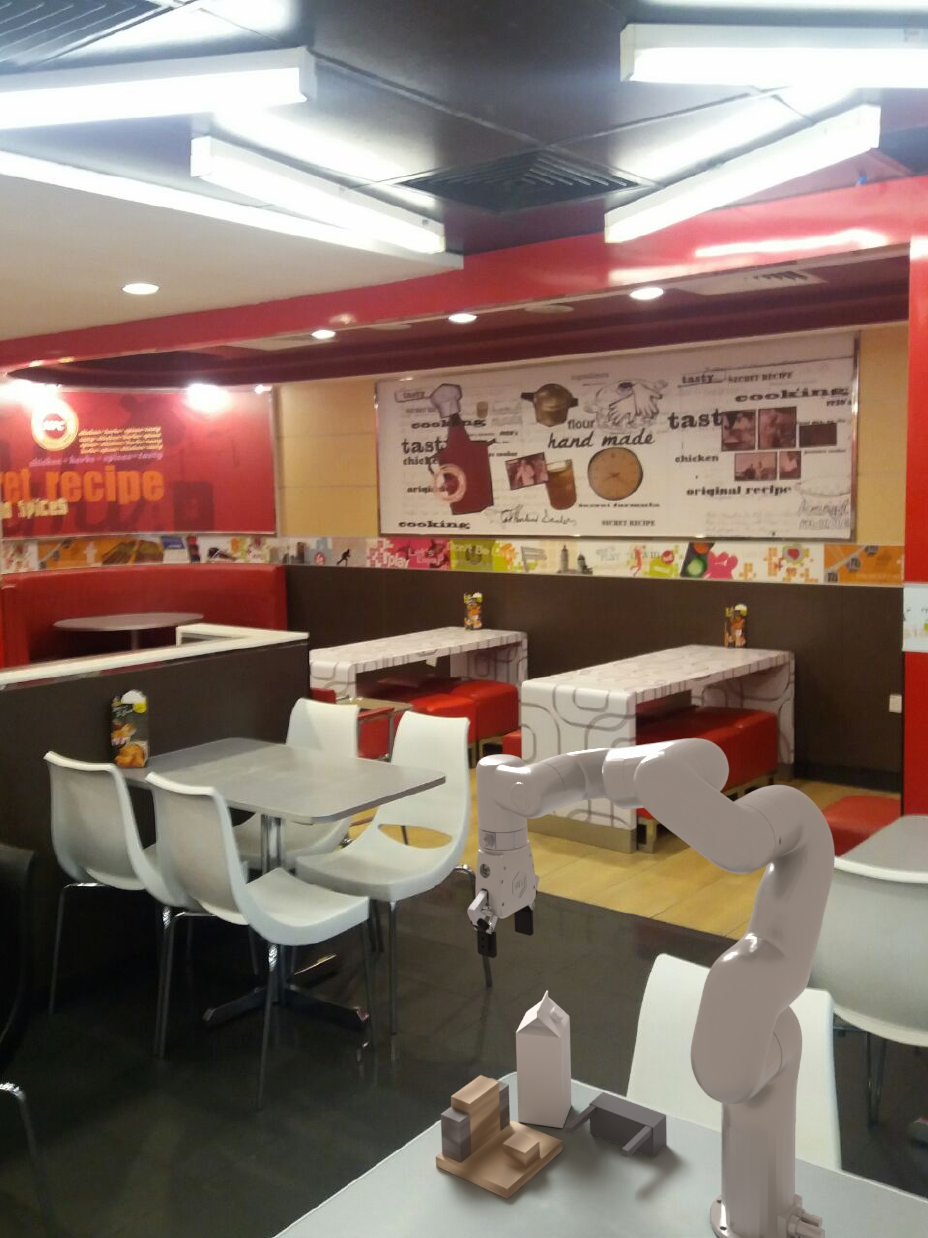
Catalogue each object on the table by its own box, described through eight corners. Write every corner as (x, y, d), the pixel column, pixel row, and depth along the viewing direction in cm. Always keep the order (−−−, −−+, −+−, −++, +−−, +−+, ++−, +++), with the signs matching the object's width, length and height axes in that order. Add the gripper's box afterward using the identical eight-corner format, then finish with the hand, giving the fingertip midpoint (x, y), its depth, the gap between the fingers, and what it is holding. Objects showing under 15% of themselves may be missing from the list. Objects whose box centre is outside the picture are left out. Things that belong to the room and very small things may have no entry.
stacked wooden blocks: (562, 1150, 169) (561, 1090, 167) (507, 1199, 158) (505, 1136, 157) (492, 1121, 177) (491, 1064, 175) (436, 1166, 166) (433, 1105, 165)
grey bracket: (603, 1122, 176) (602, 1092, 175) (666, 1146, 169) (666, 1115, 169) (564, 1156, 167) (564, 1125, 167) (629, 1183, 161) (629, 1151, 160)
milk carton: (517, 1123, 176) (514, 1008, 174) (528, 1099, 183) (525, 988, 180) (562, 1129, 174) (560, 1013, 171) (571, 1104, 181) (569, 992, 178)
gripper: (489, 857, 162) (492, 970, 164) (554, 825, 176) (557, 930, 178) (448, 848, 167) (452, 958, 169) (515, 818, 180) (518, 920, 183)
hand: (506, 944), depth 173 cm, fingers open, 9 cm apart
